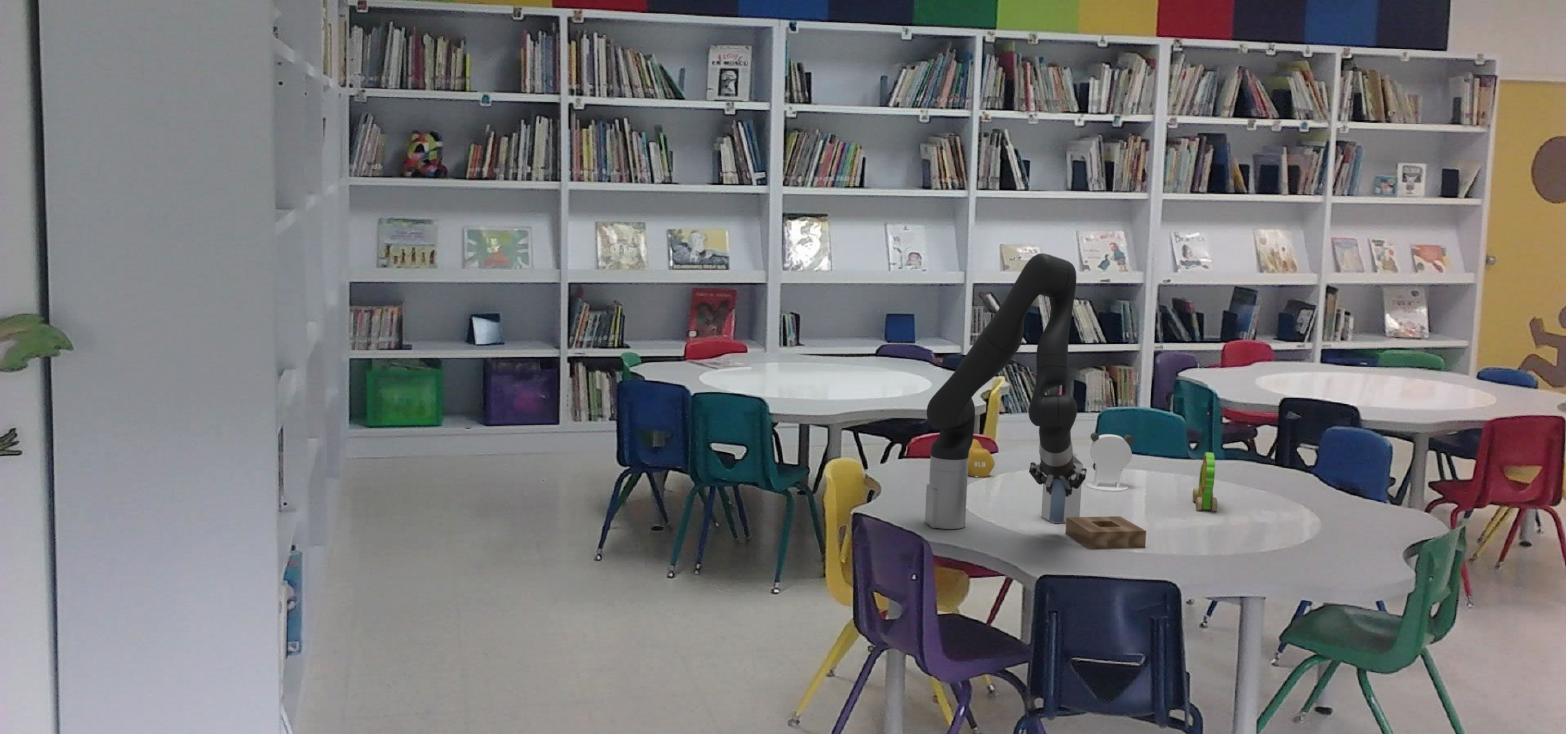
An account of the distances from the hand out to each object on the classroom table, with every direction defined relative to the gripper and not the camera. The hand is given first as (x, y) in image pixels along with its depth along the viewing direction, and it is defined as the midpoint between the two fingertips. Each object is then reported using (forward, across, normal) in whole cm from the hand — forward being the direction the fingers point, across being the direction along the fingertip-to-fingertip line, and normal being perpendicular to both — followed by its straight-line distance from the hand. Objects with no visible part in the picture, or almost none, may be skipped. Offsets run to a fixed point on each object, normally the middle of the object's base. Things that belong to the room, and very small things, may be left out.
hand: (1059, 492), depth 331 cm
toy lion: (+40, -33, -25) cm, 57 cm away
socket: (+6, -12, +8) cm, 15 cm away
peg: (+3, 0, +6) cm, 7 cm away
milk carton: (+18, +1, -3) cm, 18 cm away
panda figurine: (+49, -6, -34) cm, 61 cm away
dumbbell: (+53, +33, -36) cm, 72 cm away
